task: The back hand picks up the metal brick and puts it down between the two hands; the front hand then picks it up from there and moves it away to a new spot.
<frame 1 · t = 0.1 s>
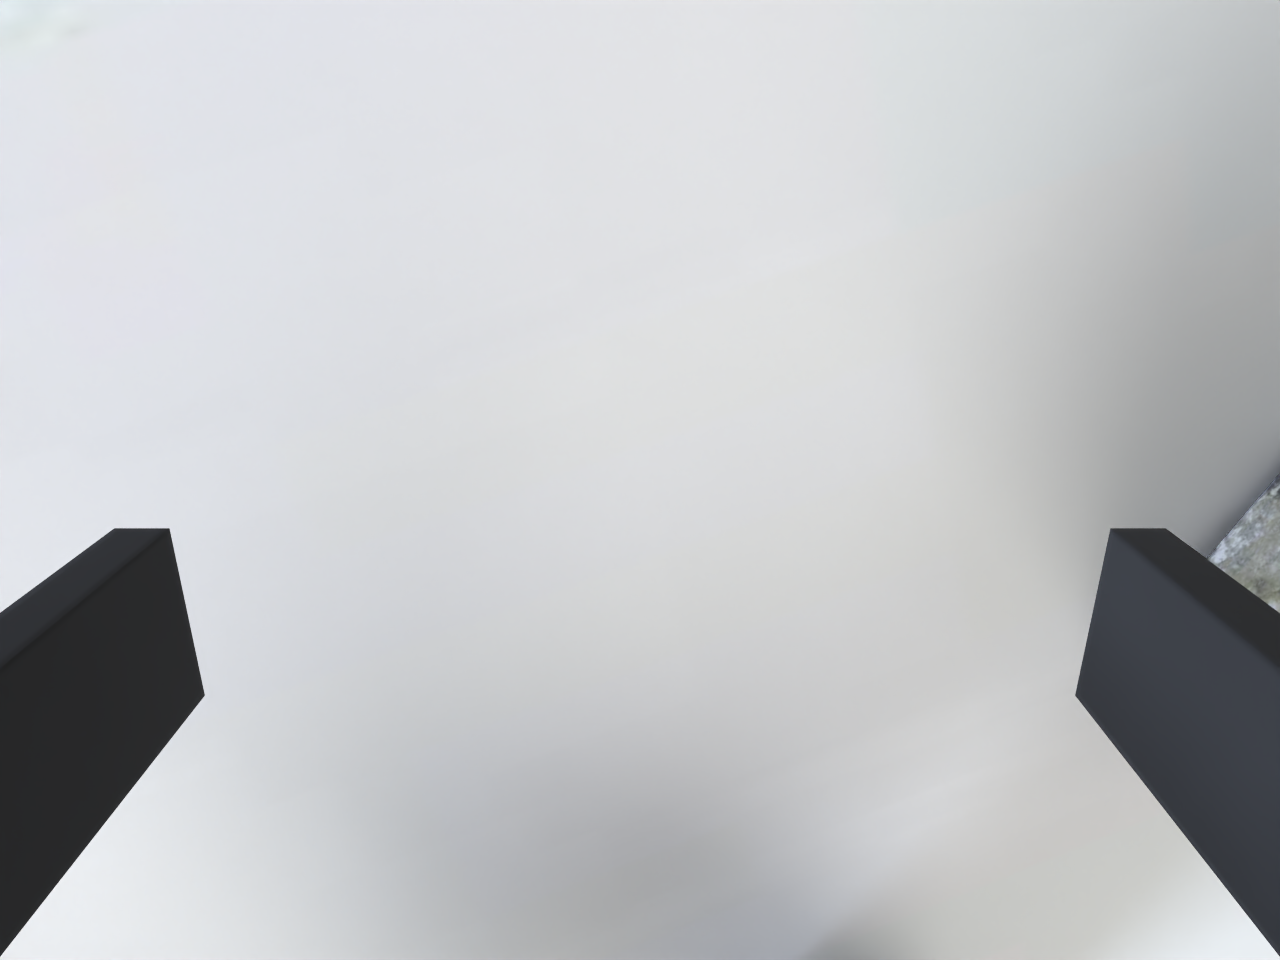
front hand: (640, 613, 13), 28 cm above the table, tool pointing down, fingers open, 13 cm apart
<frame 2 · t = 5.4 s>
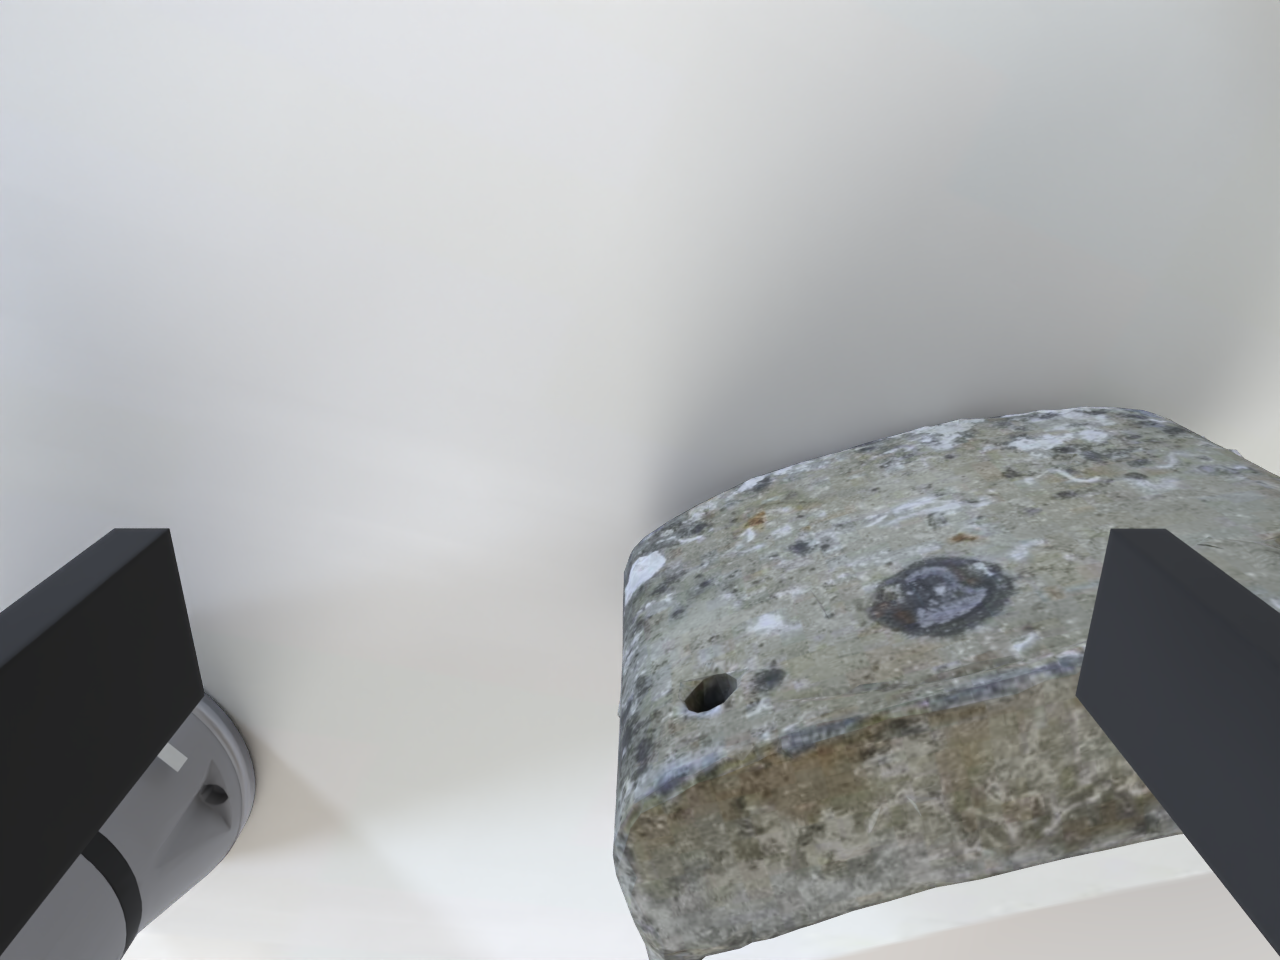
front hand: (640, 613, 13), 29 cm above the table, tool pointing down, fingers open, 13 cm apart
concrete block: (883, 512, 43), on the table
when the back hand's fingers open (4 cm above the table, at t = 13.1 s): brick drops 2 cm, on the table.
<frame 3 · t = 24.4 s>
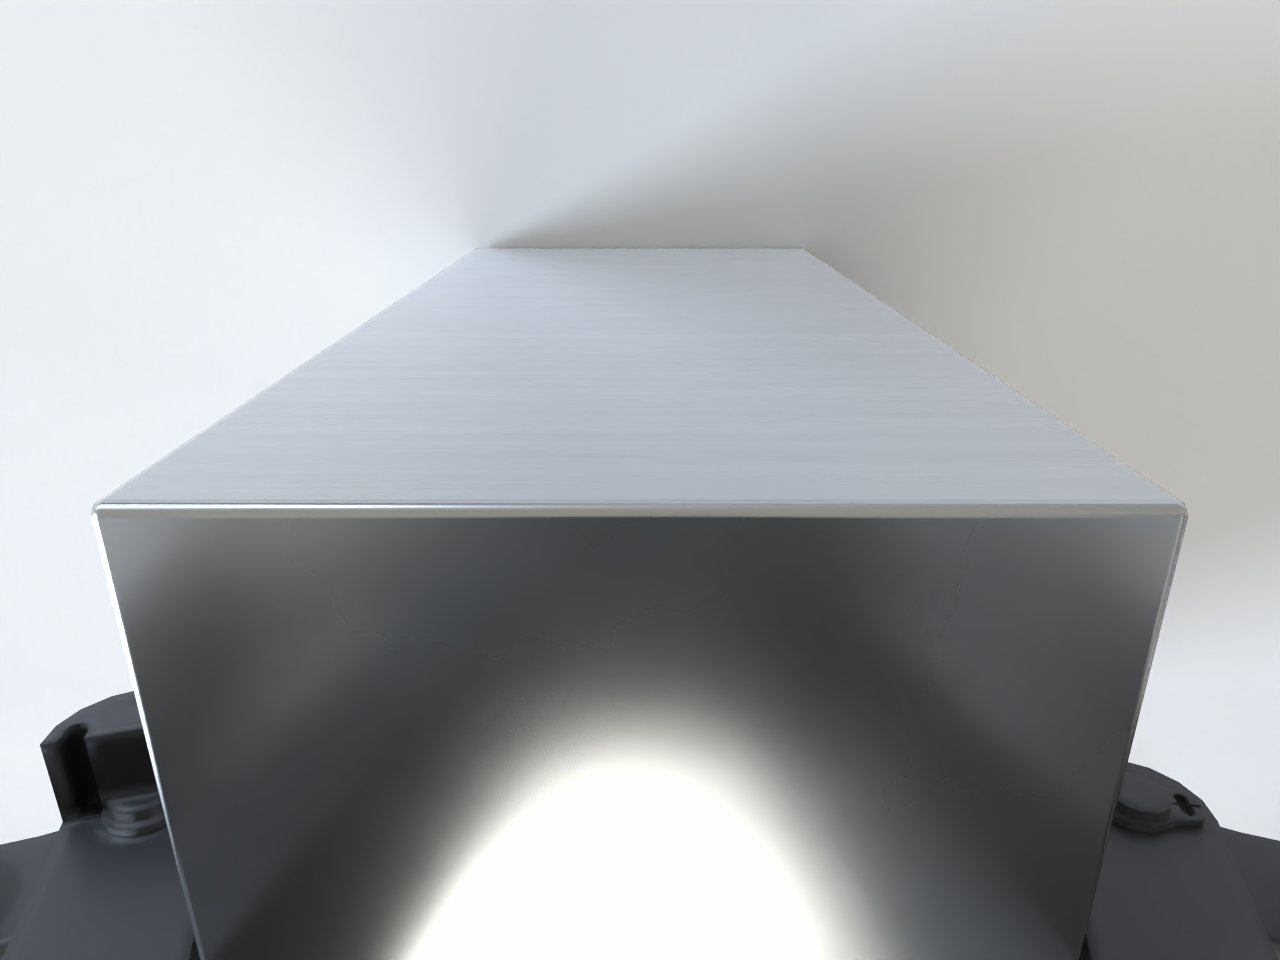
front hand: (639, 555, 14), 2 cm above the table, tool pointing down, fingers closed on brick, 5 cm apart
brick: (639, 502, 16), on the table, touching front hand
when the front hand's fingers open (4 cm above the table, at t = 32.9 s): brick drops 1 cm, on the table.
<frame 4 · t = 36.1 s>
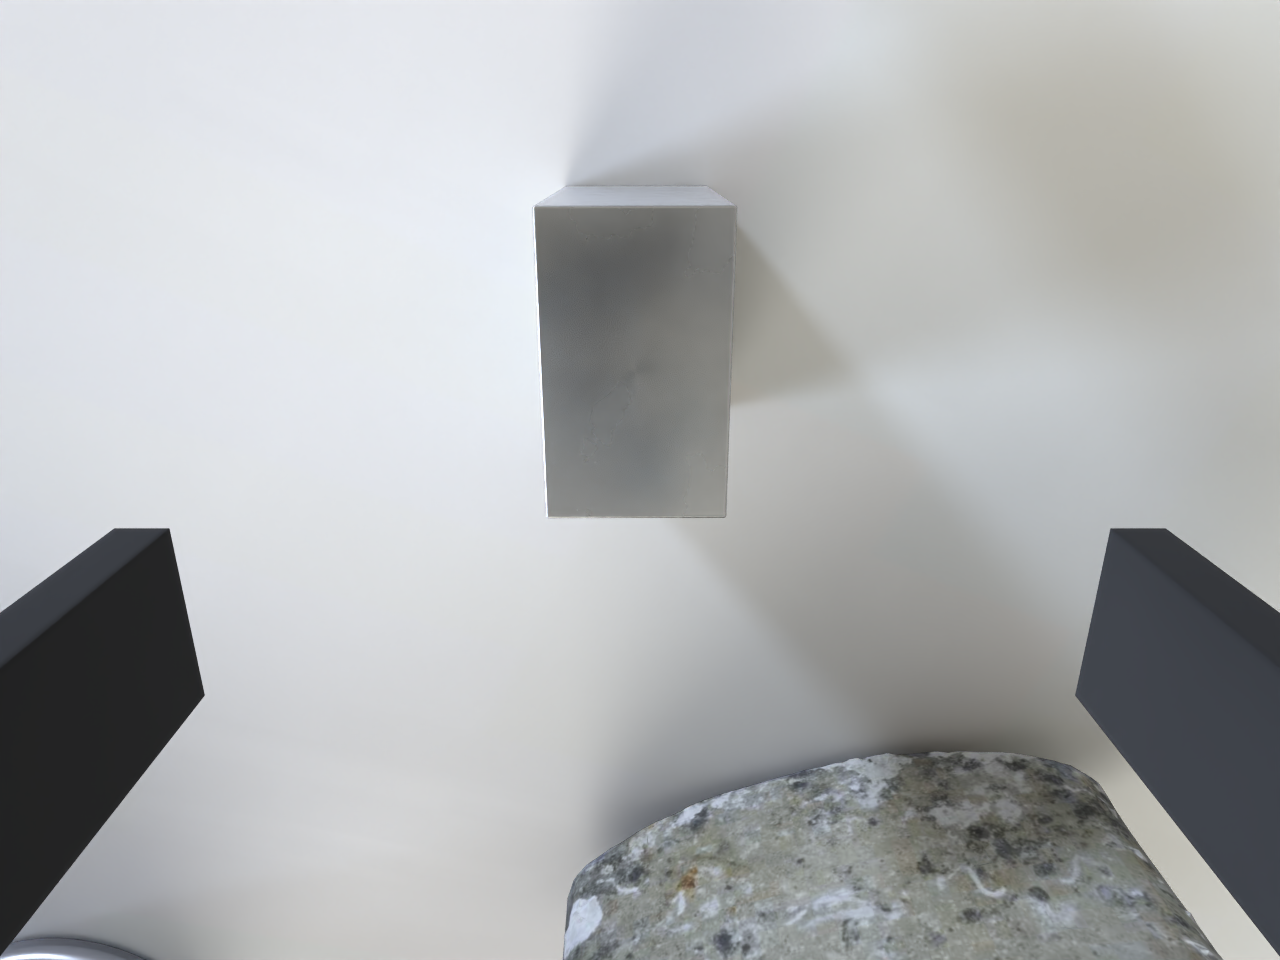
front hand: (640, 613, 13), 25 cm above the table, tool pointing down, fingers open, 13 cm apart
concrete block: (820, 822, 45), on the table
brick: (636, 305, 36), on the table
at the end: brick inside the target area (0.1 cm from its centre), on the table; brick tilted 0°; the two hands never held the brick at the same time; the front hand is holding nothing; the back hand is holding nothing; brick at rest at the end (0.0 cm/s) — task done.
